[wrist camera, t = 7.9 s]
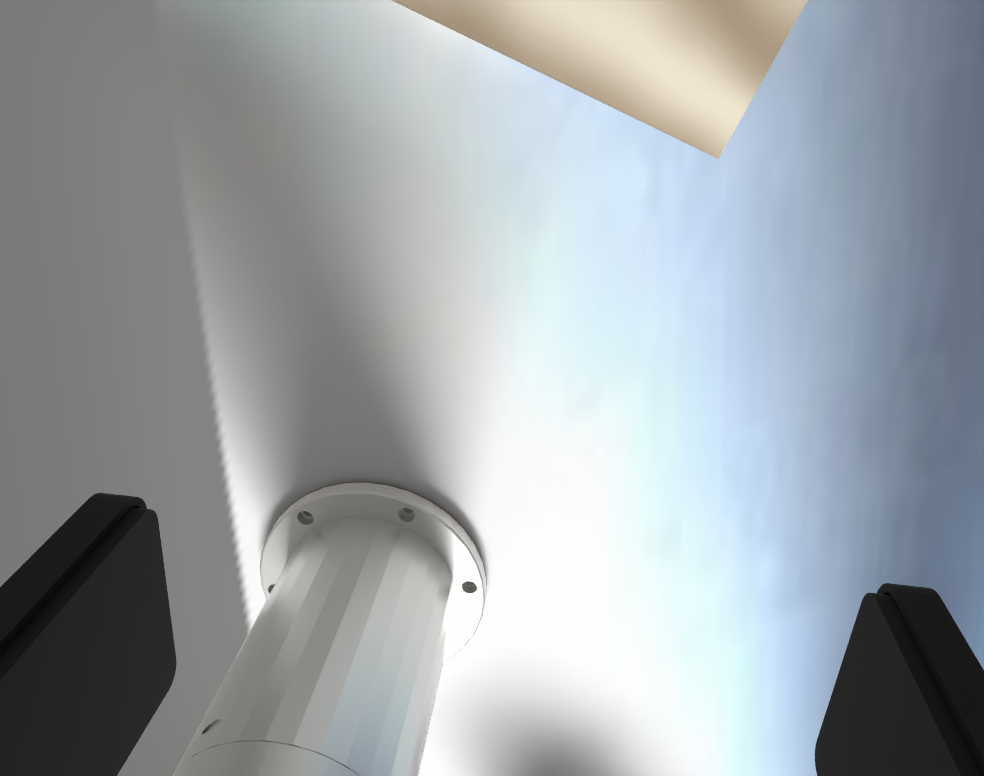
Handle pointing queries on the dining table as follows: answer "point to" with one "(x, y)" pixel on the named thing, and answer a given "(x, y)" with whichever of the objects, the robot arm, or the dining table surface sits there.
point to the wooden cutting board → (638, 52)
